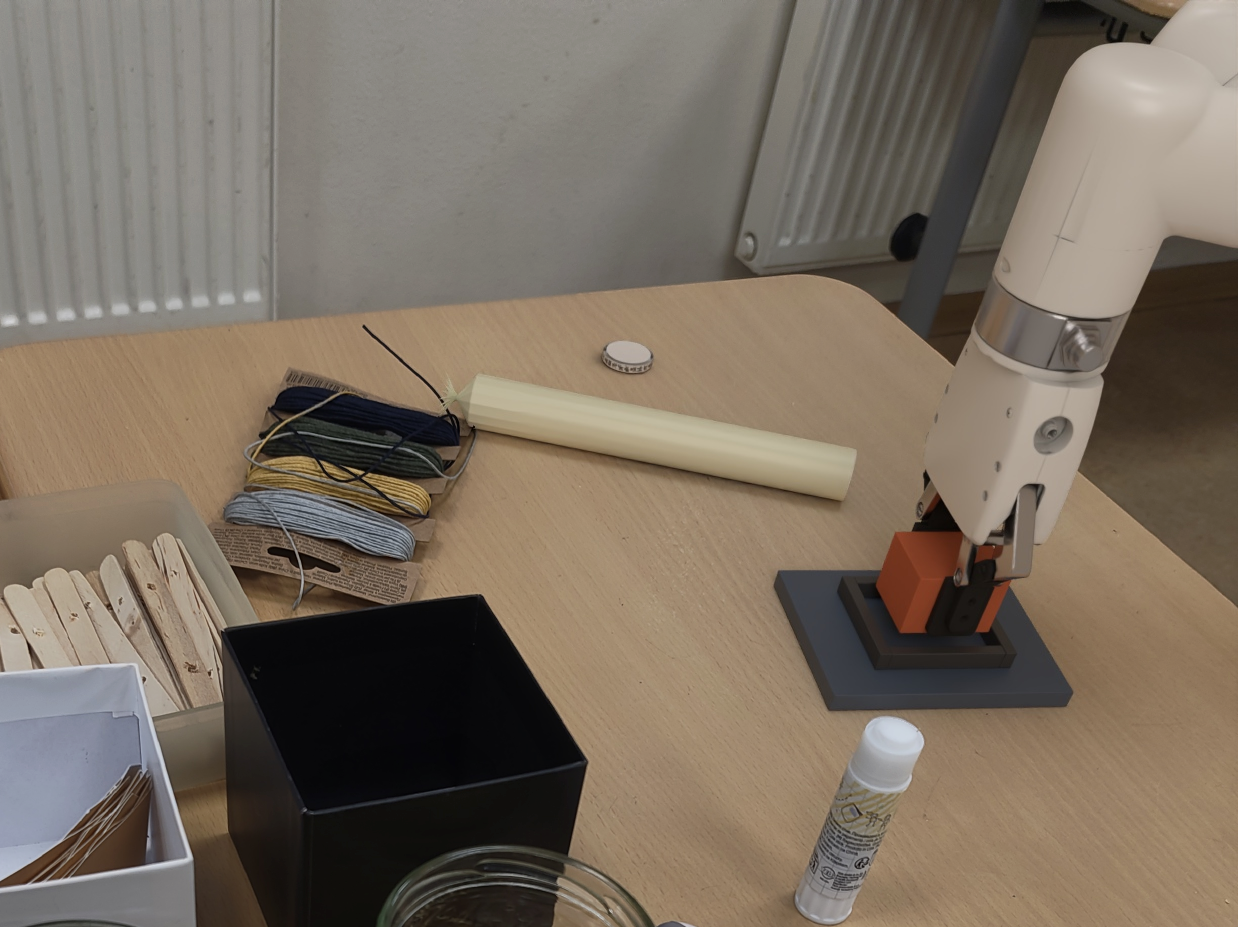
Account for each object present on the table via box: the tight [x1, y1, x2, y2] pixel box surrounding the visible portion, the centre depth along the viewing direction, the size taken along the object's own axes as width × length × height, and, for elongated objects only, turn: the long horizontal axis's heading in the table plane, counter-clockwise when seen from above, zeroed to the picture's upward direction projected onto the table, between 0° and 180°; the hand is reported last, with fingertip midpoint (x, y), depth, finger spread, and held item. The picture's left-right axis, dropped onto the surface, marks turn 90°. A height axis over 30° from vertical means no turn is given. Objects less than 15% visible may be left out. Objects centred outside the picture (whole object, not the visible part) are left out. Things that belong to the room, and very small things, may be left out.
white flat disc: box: [601, 339, 654, 374], centre depth 114 cm, size 4×4×1 cm
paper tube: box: [438, 372, 858, 502], centre depth 104 cm, size 4×30×4 cm, turn 78°
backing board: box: [773, 569, 1075, 711], centre depth 94 cm, size 16×13×2 cm
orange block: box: [876, 531, 1012, 633], centre depth 91 cm, size 6×5×4 cm
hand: (934, 603), depth 92 cm, fingers closed on orange block, 4 cm apart
